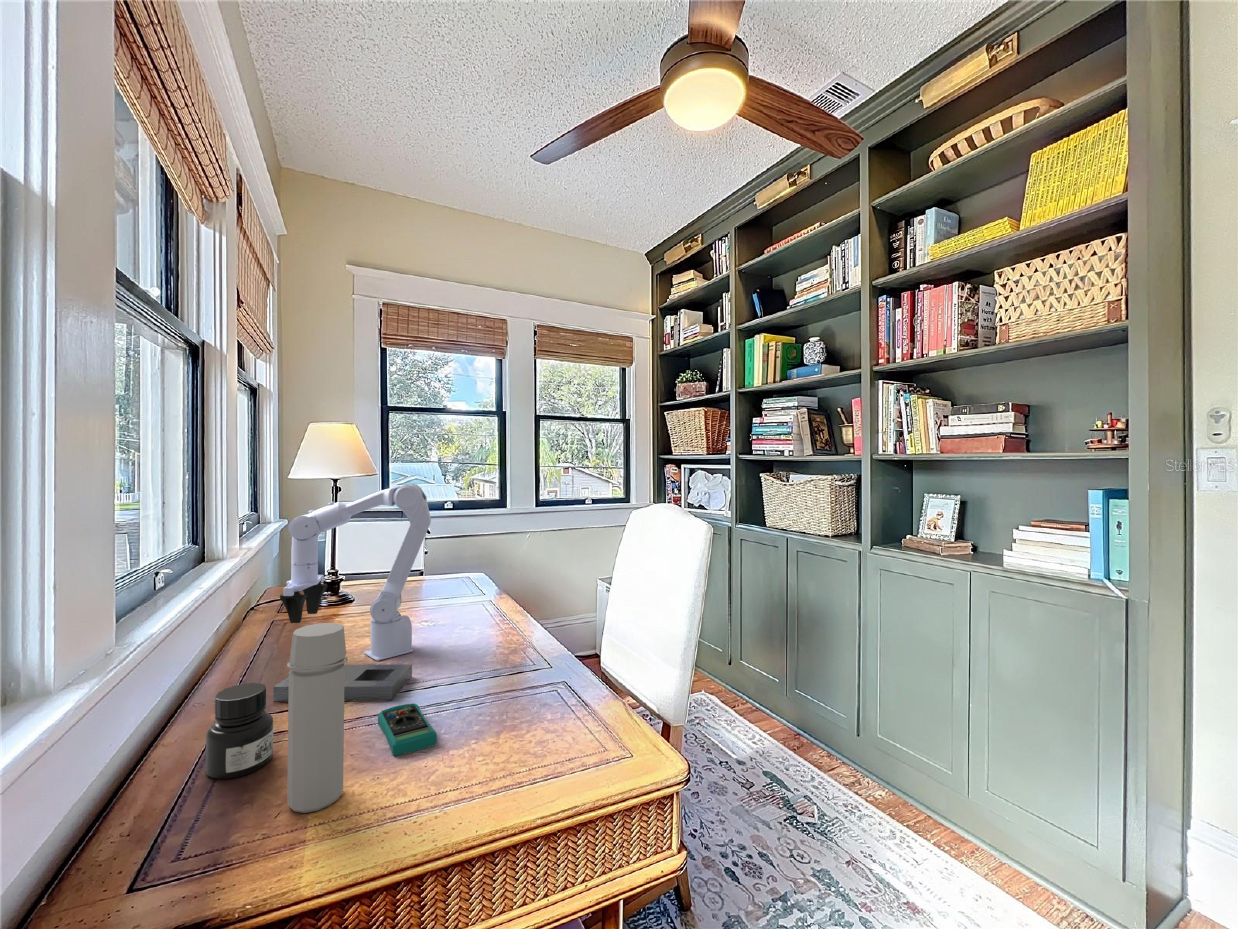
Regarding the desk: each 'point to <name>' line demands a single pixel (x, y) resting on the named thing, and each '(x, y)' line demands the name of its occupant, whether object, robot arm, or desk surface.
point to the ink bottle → (239, 732)
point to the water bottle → (316, 716)
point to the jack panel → (364, 682)
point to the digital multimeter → (406, 729)
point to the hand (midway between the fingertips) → (304, 618)
